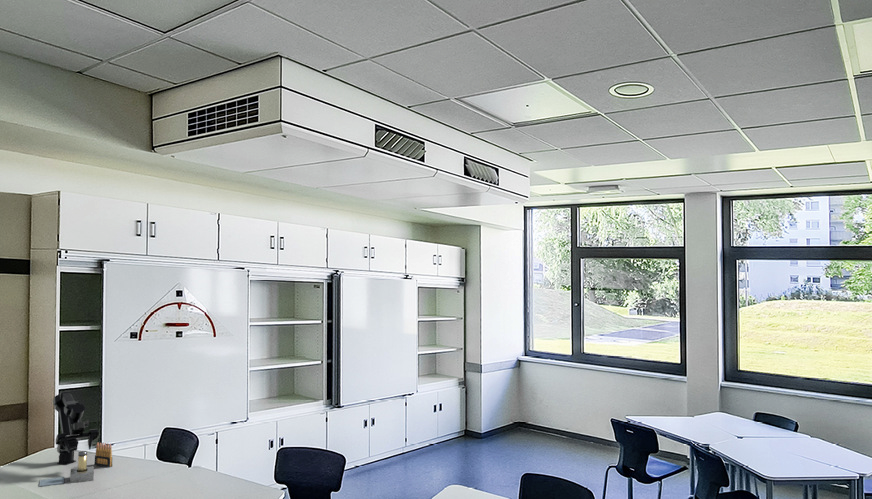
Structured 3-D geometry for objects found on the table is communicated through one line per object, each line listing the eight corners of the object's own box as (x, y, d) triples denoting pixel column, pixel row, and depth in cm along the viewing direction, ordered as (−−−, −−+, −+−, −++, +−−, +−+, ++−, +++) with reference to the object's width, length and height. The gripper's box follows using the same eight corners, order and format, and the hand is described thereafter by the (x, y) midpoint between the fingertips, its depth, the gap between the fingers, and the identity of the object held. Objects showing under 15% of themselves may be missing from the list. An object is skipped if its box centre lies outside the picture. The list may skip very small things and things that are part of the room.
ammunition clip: (112, 466, 331) (113, 443, 331) (109, 467, 329) (110, 444, 330) (97, 464, 335) (97, 441, 335) (94, 465, 333) (95, 442, 333)
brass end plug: (82, 476, 313) (83, 450, 314) (88, 477, 312) (89, 451, 313) (75, 479, 310) (76, 452, 310) (81, 480, 309) (82, 453, 309)
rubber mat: (40, 480, 307) (40, 479, 307) (64, 477, 312) (64, 476, 312) (38, 486, 298) (39, 486, 298) (63, 483, 303) (63, 482, 303)
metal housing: (70, 477, 313) (70, 468, 313) (93, 474, 318) (93, 466, 318) (69, 483, 304) (70, 474, 304) (93, 480, 309) (93, 471, 309)
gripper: (57, 417, 314) (61, 444, 306) (98, 412, 327) (103, 438, 318) (53, 430, 320) (57, 457, 311) (94, 425, 332) (99, 451, 324)
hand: (79, 450), depth 316 cm, fingers open, 9 cm apart
